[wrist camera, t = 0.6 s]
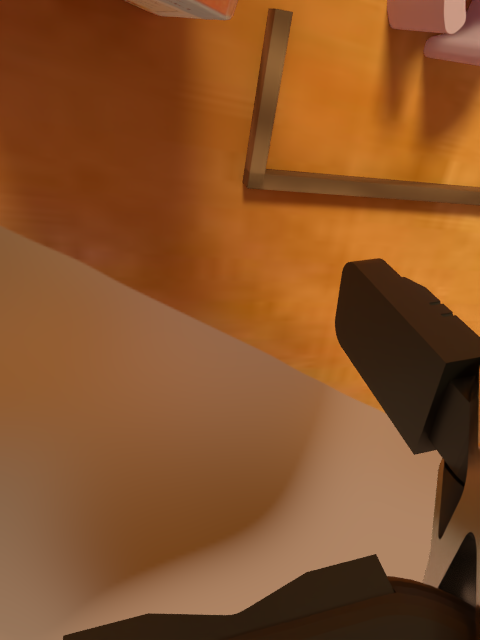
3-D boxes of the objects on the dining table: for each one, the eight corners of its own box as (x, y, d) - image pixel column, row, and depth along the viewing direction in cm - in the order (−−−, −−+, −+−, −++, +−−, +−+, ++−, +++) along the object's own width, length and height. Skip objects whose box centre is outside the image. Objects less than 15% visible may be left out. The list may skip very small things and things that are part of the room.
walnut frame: (268, 8, 31) (275, 8, 30) (596, 71, 39) (611, 73, 38) (242, 182, 37) (247, 188, 36) (529, 204, 45) (541, 209, 44)
